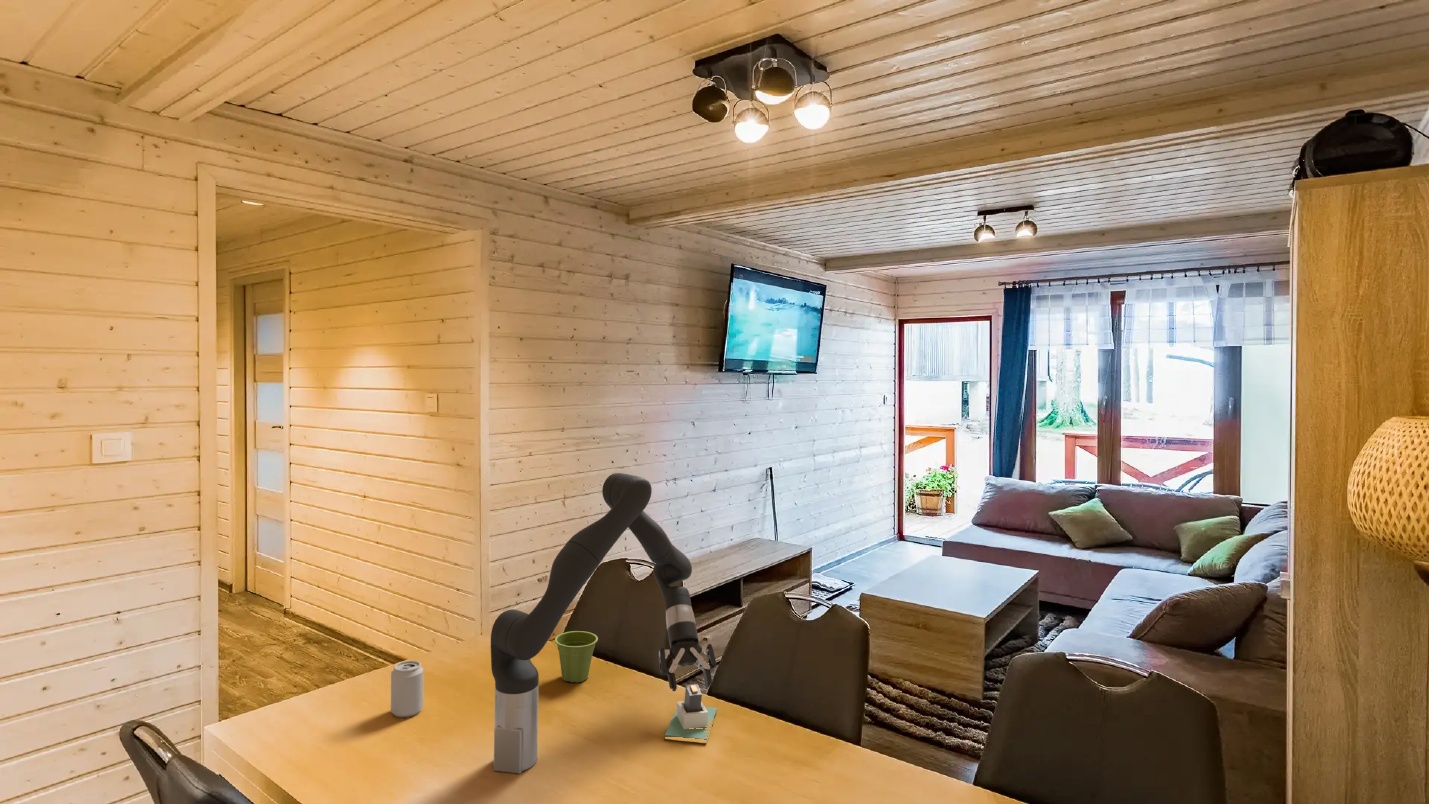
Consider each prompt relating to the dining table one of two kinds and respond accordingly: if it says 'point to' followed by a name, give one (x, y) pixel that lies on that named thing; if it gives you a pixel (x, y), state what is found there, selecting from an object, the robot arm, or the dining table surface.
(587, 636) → the plant pot
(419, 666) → the can
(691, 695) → the dark grey rectangular block
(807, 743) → the dining table surface
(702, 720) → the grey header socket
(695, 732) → the green board
